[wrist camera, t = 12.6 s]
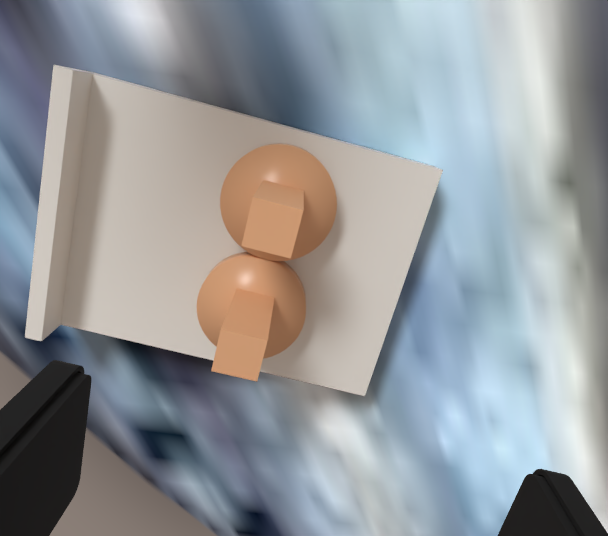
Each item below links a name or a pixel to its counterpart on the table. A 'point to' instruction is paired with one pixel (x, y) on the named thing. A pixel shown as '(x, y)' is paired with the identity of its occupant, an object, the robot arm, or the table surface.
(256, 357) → the dome with square post
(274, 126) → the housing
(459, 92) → the table surface
